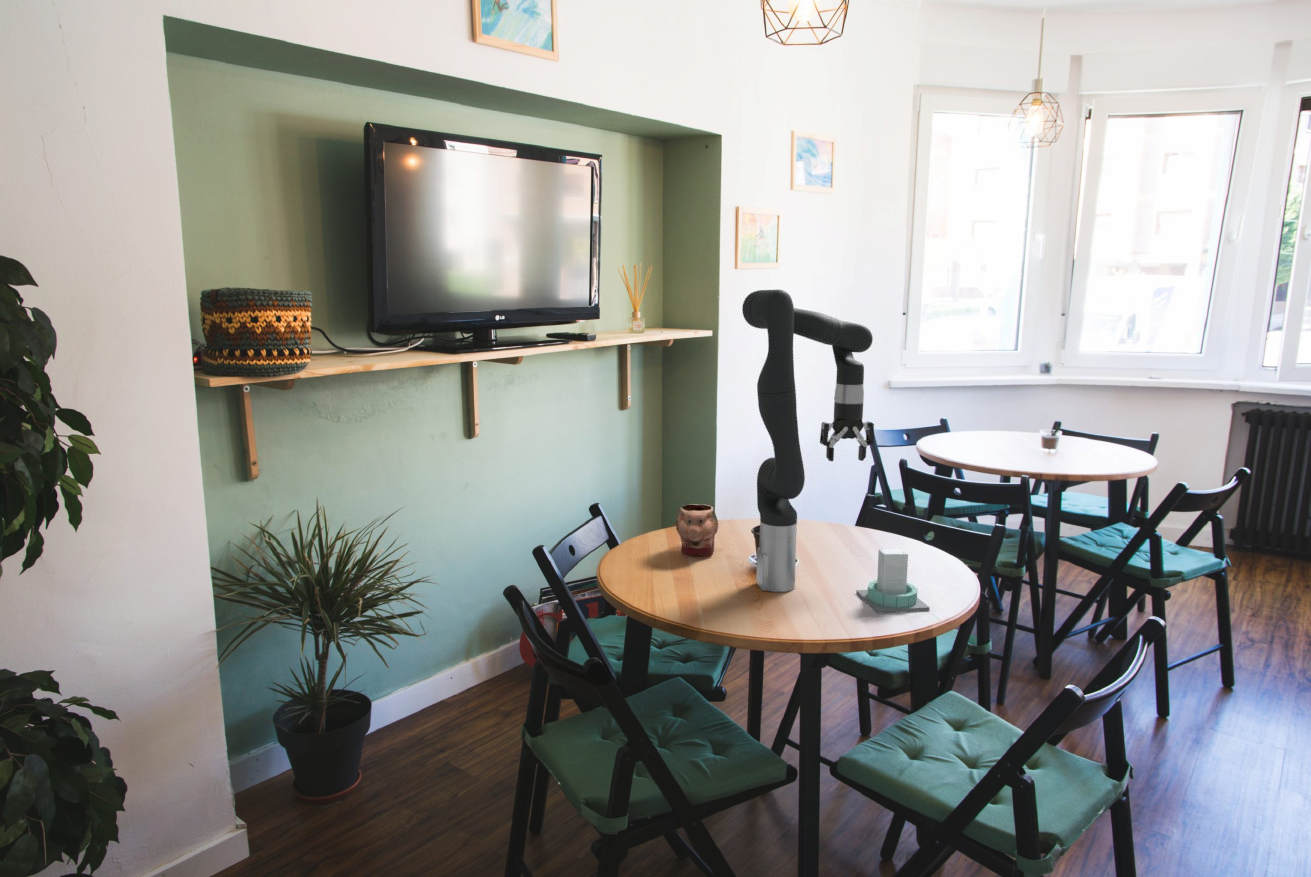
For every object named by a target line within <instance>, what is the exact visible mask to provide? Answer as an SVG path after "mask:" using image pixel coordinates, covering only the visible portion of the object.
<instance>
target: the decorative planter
mask: <svg viewBox="0 0 1311 877" xmlns="http://www.w3.org/2000/svg"><path fill="white" fill-rule="evenodd" d="M714 509H715V508H714V507H713V506H711V505H708V504H703V503H701V504H700V503H698V504H696V503H689V504H684V505H680V508H679V514H678V516H677V519H676V526H675V527H676V528H675V529H676V532H677V534H678V535H679V537H680V542H681V548H680V549H681V550H680V551H681V552H680V553H681V555H682V556H685V557H686V558H693V559H694V558H695V559H705V558H706V559H707V558H710V557H712V556H713V555H714V552H715V537H716V534H717V533H718V530H719V520H718V517H717V515H716V513H715V510H714Z"/></svg>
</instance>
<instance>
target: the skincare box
mask: <svg viewBox="0 0 1311 877" xmlns="http://www.w3.org/2000/svg"><path fill="white" fill-rule="evenodd" d="M908 562H909V554H908V553H907V552H906V551H905V550H904V549H903V548H891V549H890V548H888V549H887V548H885V549H882V548H881V549H880V548H879V549H878V558H877V579H876V580H877V590H878V591H881V592H883V593H887V594H895V595H899V594H906V585H907V583H908V582H907V581H908V579H907V578H908V566H909V565H908V564H909V563H908Z"/></svg>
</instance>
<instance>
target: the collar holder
mask: <svg viewBox="0 0 1311 877" xmlns="http://www.w3.org/2000/svg"><path fill="white" fill-rule="evenodd" d="M918 590H919V589H918V588H917V587H916V586H915V585H914V584H911V583H908V582H907V585H906V594H899V595H895V594H887V593H883V592H881V591H878V590H877V579H876V580H873V581H869V583H868V585H867V589H859V590H858V589H857V590H856V591H855V592H856V595H857V596H859V598H861V600H863V601H864V602H865V603H866V604H867V605H868V606H869V607H870V608H871V609H872V610H873V611H875V613H877V614H889V613H890V614H891V613H892V614H893V613H907V612H908V613H909V612H926V611H927V612H928V611H930V609H931V608H930V606H929V605H927V603H925V602H924V601H922V600H921V599H920V598H919V597H918Z"/></svg>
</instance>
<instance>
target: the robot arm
mask: <svg viewBox="0 0 1311 877" xmlns="http://www.w3.org/2000/svg"><path fill="white" fill-rule="evenodd" d="M742 316H743V318H744V320H745V321H746V323H747V324H748V325H750V326H751V327H753V328H754V329H755V328H756V329H761V330H764V329H765V330H766V331H767V337H768V338H767V340H768V341H767V342H768V347H767V348H768V350H767V355H766V358H765V360H764V361H765V362H764V363H763V365H762V369H761V371H760V373H759V375H758V380H757V384H756V385H757V386H756V390H757V391H756V392H757V399H758V400H757V404H758V410H759V415H760V417H761V420H762V423H763V424H764V427H765V429H766V430H767V433H768V435H769V437H770V440H771V444H772V447H773V452H774V453H773V454H774V455H773V456H774V457H769V458H767V459H765V460H763V461H762V463H761V465H760V466H759V469H758V472H757V477H756V495H757V496H756V499H757V502H756V503H757V504H756V505H757V510H758V513H759V517H760V519H759V524H760V525H759V526H760V527H759V547H757V549H756V576H755V578H756V581H755V582H756V584H757V586H758V587H759V589H760V590H761V591H768V592H773V593H774V592H775V593H785V592H790V591H792V590H794V589H795V583H796V582H795V581H796V562H797V561H796V560H797V559H796V558H797V555H796V554H797V532H798V530H797V529H798V527H797V526H798V512H797V511H796V508H794V507H793V505H792V504H791V502H790V500H793V499H795V498H797V497H799V495H801V493H802V490H803V489H804V485H805V481H806V480H805V478H806V477H805V476H806V475H805V470H804V469H805V468H804V461H803V457H802V452H801V445H800V439H799V438H800V436H799V425H798V424H799V423H798V415H797V414H798V413H797V411H798V410H797V393H796V392H797V391H796V381H795V379H796V378H795V364H794V335H797V336H800V337H803V338H806V339H809V340H811V341H814V342H818V343H820V344H824V345H827V346H831V348H832V351H833V356H834V362H835V365H836V366H835V367H836V382H835V383H836V384H835V389H834V397H833V400H834V405H833V421H832V423H831V422H825V421H823V422H822V423H821V428H820V434H819V435H820V436H819V444H821V445H822V446H825V447H826V454H825V457H826V459H827V460H828V461H829V462H834V459H835V458H834V457H835V448H834V446H835V445H836V444H837V443H838V442H840V440H841V439H842V440H846V439H851V440H854V439H855V440H856V441H857V443H859V446H858V454H857V459H858V460H859V461H861V462H862V461H864V460H865V459H866V457H867V447H868V446H870V445H874V444H875V424H874V423H873V422H872V421H865V422H863V416H864V415H863V414H864V396H865V392H864V391H865V390H864V382H865V381H864V378H865V367H864V364H863V363H862V362H860V361H858V360H857V359H855V357H854V353H856V354H857V353H863V352H866V351H868V349H869V348H870V347H872V343H873V333H872V332H871V330H870V328H868V327H867V326H865V325H862V324H860V323H854V322H850V321H844V320H841V319H838V318H836V317H833V316H832V315H831V316H830V315H827V314H824V313H821V312H818V311H812V310H808V309H801V308H798V307H794V302H793V300H792V297H791V295H790V294H789V293H788V292H787V291H786V290H783V289H761V290H755V291H753V292H750V293H749V294H748V295H747V296H746V297H745V298H744V301H743V303H742ZM831 429H833V432H832V434H831V435H830V437H829V432H830V431H831ZM863 429H864V430H865V438H864V436H863V435H862V433H861V431H862V430H863Z"/></svg>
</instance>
